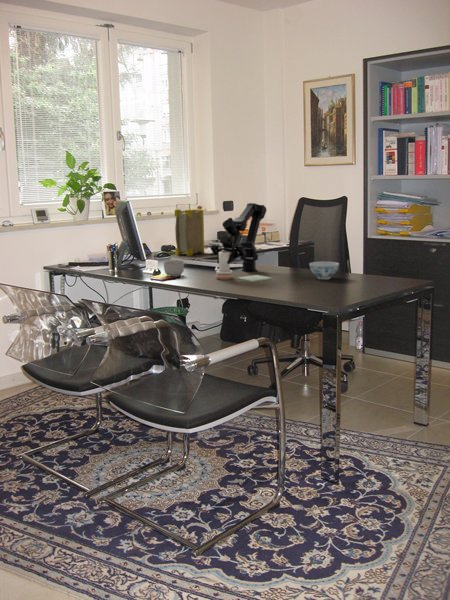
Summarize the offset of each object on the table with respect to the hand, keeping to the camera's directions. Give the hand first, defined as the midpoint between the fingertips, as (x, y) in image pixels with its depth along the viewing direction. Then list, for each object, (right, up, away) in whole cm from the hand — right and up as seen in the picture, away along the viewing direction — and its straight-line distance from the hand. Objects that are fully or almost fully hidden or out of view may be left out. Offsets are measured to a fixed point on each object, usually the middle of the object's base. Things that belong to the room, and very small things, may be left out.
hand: (222, 263), depth 358 cm
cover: (+1, -5, +2) cm, 5 cm away
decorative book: (-22, +12, +105) cm, 108 cm away
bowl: (+1, -8, +3) cm, 8 cm away
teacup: (-26, -6, +17) cm, 32 cm away
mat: (+17, -8, 0) cm, 18 cm away
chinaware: (+52, -8, -3) cm, 53 cm away
